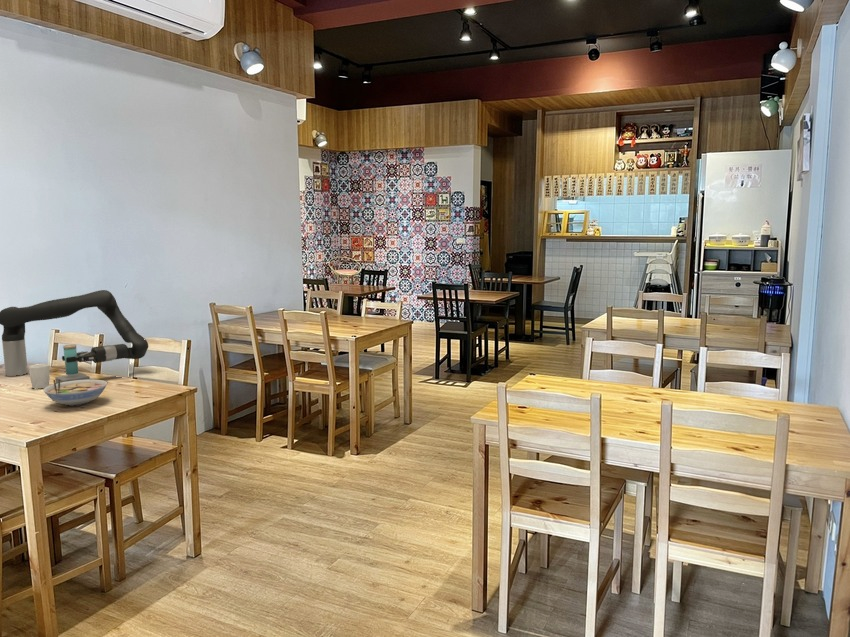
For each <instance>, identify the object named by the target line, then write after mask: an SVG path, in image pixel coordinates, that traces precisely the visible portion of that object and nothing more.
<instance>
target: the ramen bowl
mask: <svg viewBox="0 0 850 637" xmlns="http://www.w3.org/2000/svg"><path fill="white" fill-rule="evenodd" d="M49 385H50V384H49ZM107 385H108V382H107V381H106V380H102V379H90V380H75V381H68V382H62V383H60V379H59V380H58V383H57V384H56V381H55V379H53V384H51V385H50V386H48V387H46V388H43V389H42V391H43V392H44V394H45V395H46V396H48V398H50V399H51V400H52V401H53V402H55V403H58V404H61V405H66V406H68V405H69V407H75V406H74V405H78V406H83V405H86V404H87V403H90V402H91V401H93V400H95V399H98V398H99V397H100V395H102V393H103V391H104V390H105V389H106V387H107ZM82 404H83V405H82Z"/></svg>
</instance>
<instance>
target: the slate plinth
mask: <svg viewBox="0 0 850 637" xmlns="http://www.w3.org/2000/svg"><path fill="white" fill-rule="evenodd" d="M59 379H60V383H62V382H68V381H75V380H91V378H90V375H87V374H84V373H83V372H79V373H78V374H73V375H66V374H65V375H59V376H54V380H55V383H56V384H57V383H58V380H59Z"/></svg>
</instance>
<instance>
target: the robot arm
mask: <svg viewBox="0 0 850 637" xmlns="http://www.w3.org/2000/svg"><path fill="white" fill-rule="evenodd" d="M116 300H117V299H116V298H115V296H114V295H113V293H112V292H110V291H109V290H107V289H103V290H102V289H101V290H96V291H92V292H89V293H85V294H81V295H75V296H69V297H65V298H58V299H57V298H56V299H50V300H46V301H42V302H39V303H36V304H33V305H30V306H25V307H24V306H23V307H22V306H21V307H18V306H10V307H6V308H5V307H4V308H3V309H1V310H0V325H1V326H2V327H3V331H2V335H1V342H2V351H3V352H2V353H3V361H4V362H3V363H4V373H5V374H4V375H5V376H6V375H7V376H6V377H17V376H16V375H20V376H24V375H23V374H25V375H27V374H26V373H29V372H28V371H29V367H28V360H27V359H28V358H27V350H26V349H27V348H26V338H25V336H26V323H30V322H37V321H39V322H40V321H47V320H54V319H61V318H67V317H70V316H72V315H73V314H75V313H77V312H79V311H81V310H84V309H88V308H97V309H98V310H100V311H101V312H102V313H103V314H104V315H105V316H106V317H107V318H108V319H109V320H110V321H111V323H112V324H113V326H114V328H115V329H116V331H117V333H118V334H119V336H120V337H121V339H122V340H123V341H124V342H125V343H128V344H129V343H131V344H132V345H131V346H129V347H128V346H127V345H126V344H125V343H119V344H113V345H112V344H111V345H110V344H109V345H108V344H107V345H100V346H94V347H92V348H91V349H90V351H87V350H85V351H77V356H76V357H68V358H66V362H67V363H69V362H75V361H76V362H78V363H83V362H93V364H94V363H95V364H97V363H104V362H112V361H115V360H120V359H127V360H128V359H129V360H140V359H142V358H144V357H145V355H146V354H147V352H148V349H149V342H148V341H147V340H146V339H145V337H143V336H142V335H141V334H139V333H138V332H137V330H136V329H135V328H134V326H133V325H132V324H131V323H130V321H129V320H128V319H127V318H126V317H125V316H124V314H123V312H122V311H121V309H120V307H119V305H118V303H117V301H116ZM144 339H145V340H144ZM61 359H62V360H61V361H62V362H65V358H64V355H62V356H61Z"/></svg>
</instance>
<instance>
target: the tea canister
mask: <svg viewBox="0 0 850 637" xmlns="http://www.w3.org/2000/svg"><path fill="white" fill-rule="evenodd" d="M62 348H63V356H64V358H65V361H64V366H65V367H64V368H65V375H73V374H78V373H80V372H79V365H78V363H79V362H76V361H75V362H69V363H67V362H66V358H68V357H76V356H77V353H78V350H77V344H65V345H63V346H62Z"/></svg>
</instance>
